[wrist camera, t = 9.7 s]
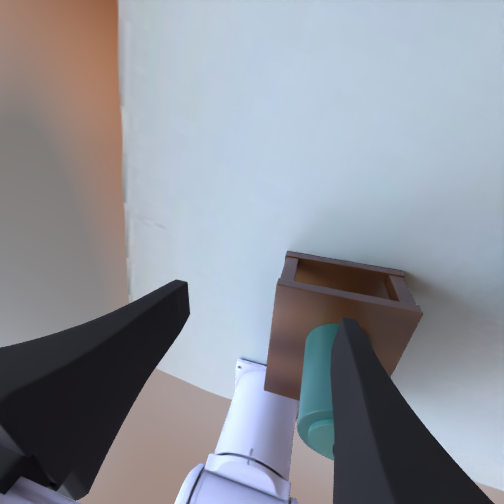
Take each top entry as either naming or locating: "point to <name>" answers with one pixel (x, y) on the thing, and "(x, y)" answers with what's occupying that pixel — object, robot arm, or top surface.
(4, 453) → the robot arm
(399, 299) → the stand
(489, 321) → the top surface
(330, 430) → the kettle
